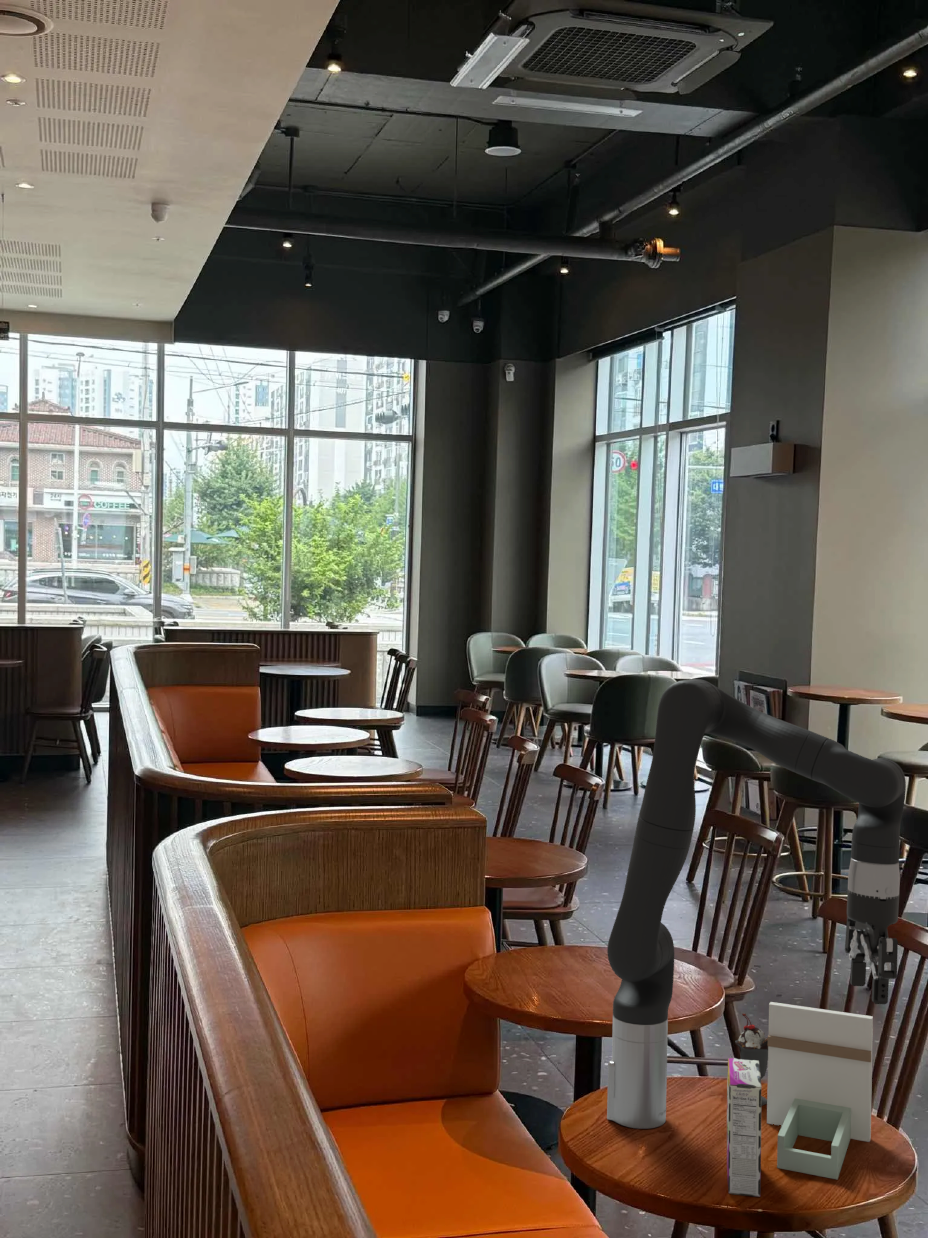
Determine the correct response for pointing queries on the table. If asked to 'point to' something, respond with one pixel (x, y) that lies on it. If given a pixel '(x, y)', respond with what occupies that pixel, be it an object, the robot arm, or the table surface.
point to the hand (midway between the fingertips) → (868, 994)
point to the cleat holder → (818, 1083)
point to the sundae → (754, 1048)
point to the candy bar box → (744, 1127)
